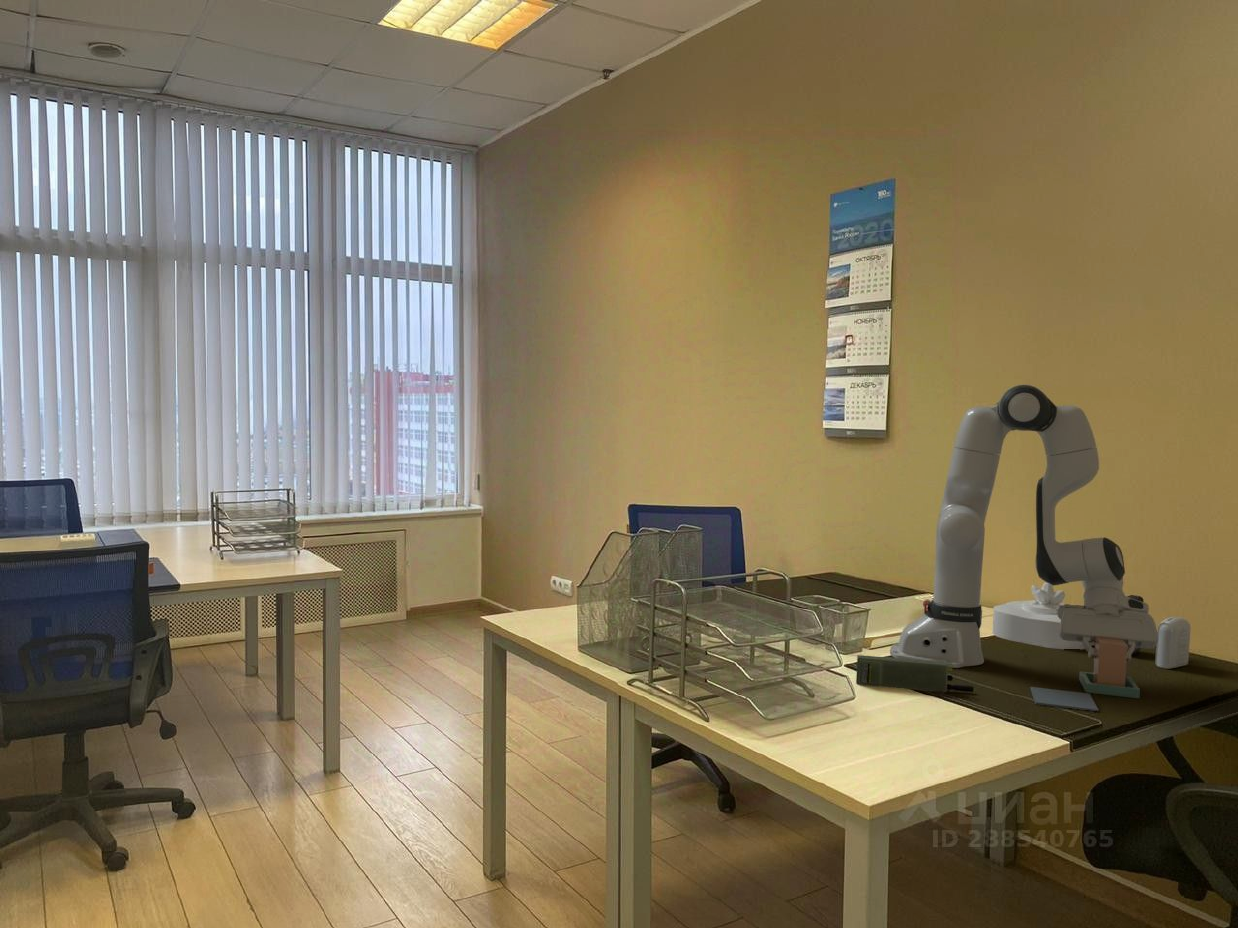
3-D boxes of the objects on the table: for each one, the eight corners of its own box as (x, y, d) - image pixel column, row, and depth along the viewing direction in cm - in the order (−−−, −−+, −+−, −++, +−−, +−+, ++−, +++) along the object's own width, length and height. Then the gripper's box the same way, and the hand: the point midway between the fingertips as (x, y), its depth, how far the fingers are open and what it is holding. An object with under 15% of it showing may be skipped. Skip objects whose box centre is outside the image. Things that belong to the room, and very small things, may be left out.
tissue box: (1075, 654, 240) (1078, 593, 239) (981, 635, 258) (985, 579, 257) (1107, 639, 258) (1111, 583, 257) (1018, 623, 275) (1021, 570, 274)
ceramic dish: (1086, 692, 205) (1086, 679, 205) (1079, 679, 215) (1079, 667, 215) (1139, 698, 202) (1140, 685, 201) (1129, 685, 212) (1130, 672, 211)
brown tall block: (1096, 690, 207) (1099, 642, 206) (1092, 683, 212) (1095, 637, 211) (1124, 693, 205) (1127, 645, 204) (1119, 686, 210) (1122, 639, 209)
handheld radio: (855, 682, 208) (971, 692, 203) (856, 686, 205) (974, 697, 200) (857, 653, 208) (973, 663, 203) (857, 657, 205) (976, 667, 199)
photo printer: (1172, 661, 235) (1175, 613, 234) (1190, 665, 231) (1193, 616, 231) (1152, 666, 229) (1155, 617, 229) (1170, 670, 226) (1173, 621, 225)
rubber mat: (1035, 704, 195) (1035, 702, 195) (1030, 688, 206) (1030, 686, 206) (1098, 712, 191) (1098, 709, 191) (1089, 695, 202) (1089, 693, 202)
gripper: (1058, 596, 218) (1061, 646, 209) (1155, 604, 211) (1163, 656, 203) (1055, 610, 223) (1057, 660, 214) (1150, 619, 216) (1157, 671, 207)
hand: (1109, 658), depth 208 cm, fingers closed on brown tall block, 6 cm apart
